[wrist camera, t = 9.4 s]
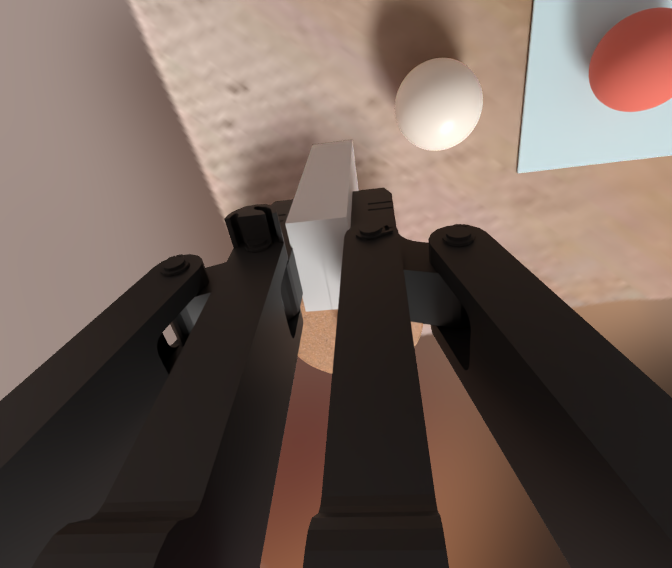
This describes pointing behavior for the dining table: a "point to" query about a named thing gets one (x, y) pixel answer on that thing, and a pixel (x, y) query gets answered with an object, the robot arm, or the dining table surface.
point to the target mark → (581, 92)
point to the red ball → (634, 62)
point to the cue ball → (438, 104)
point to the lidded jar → (326, 337)
